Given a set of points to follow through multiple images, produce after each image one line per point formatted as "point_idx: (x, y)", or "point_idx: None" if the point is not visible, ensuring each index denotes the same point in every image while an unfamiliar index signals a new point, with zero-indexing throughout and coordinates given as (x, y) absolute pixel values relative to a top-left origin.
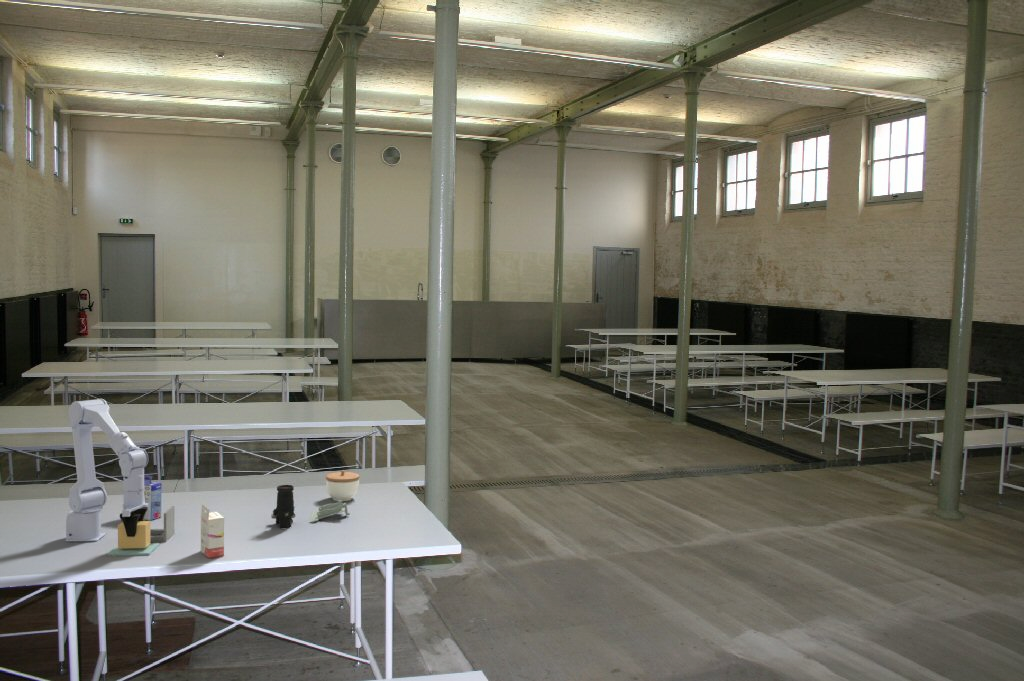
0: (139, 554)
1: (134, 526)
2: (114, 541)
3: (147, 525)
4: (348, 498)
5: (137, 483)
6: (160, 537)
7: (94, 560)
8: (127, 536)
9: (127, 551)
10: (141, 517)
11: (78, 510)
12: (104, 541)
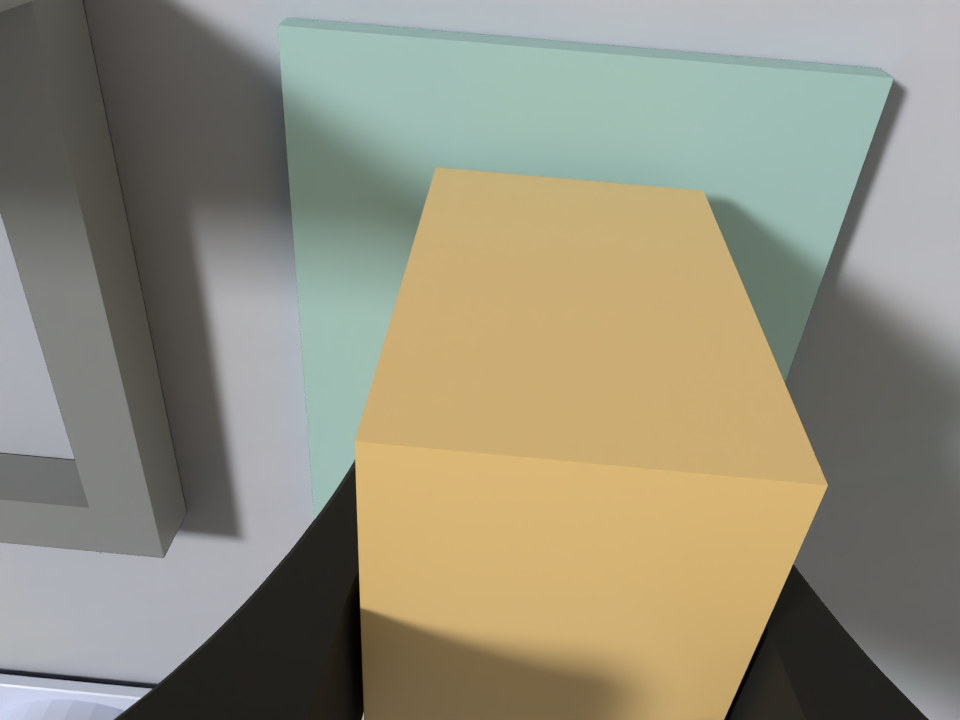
0: (833, 230)
1: (863, 670)
2: (170, 575)
3: (623, 423)
4: None
5: None
6: (52, 64)
7: (853, 623)
8: None
9: None
10: (321, 699)
11: None
12: (182, 642)
